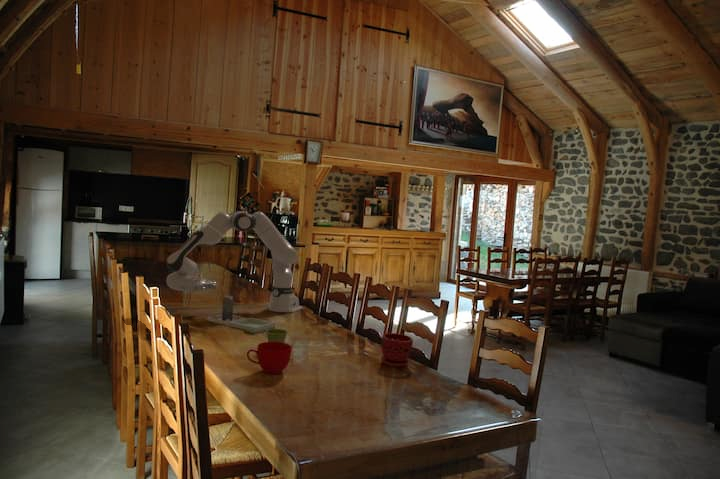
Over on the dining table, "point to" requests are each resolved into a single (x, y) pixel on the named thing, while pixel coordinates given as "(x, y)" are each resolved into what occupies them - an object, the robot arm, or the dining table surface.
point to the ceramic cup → (272, 356)
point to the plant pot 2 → (396, 349)
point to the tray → (219, 320)
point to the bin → (253, 325)
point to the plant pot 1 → (276, 335)
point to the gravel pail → (227, 308)
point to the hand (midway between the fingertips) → (210, 288)
